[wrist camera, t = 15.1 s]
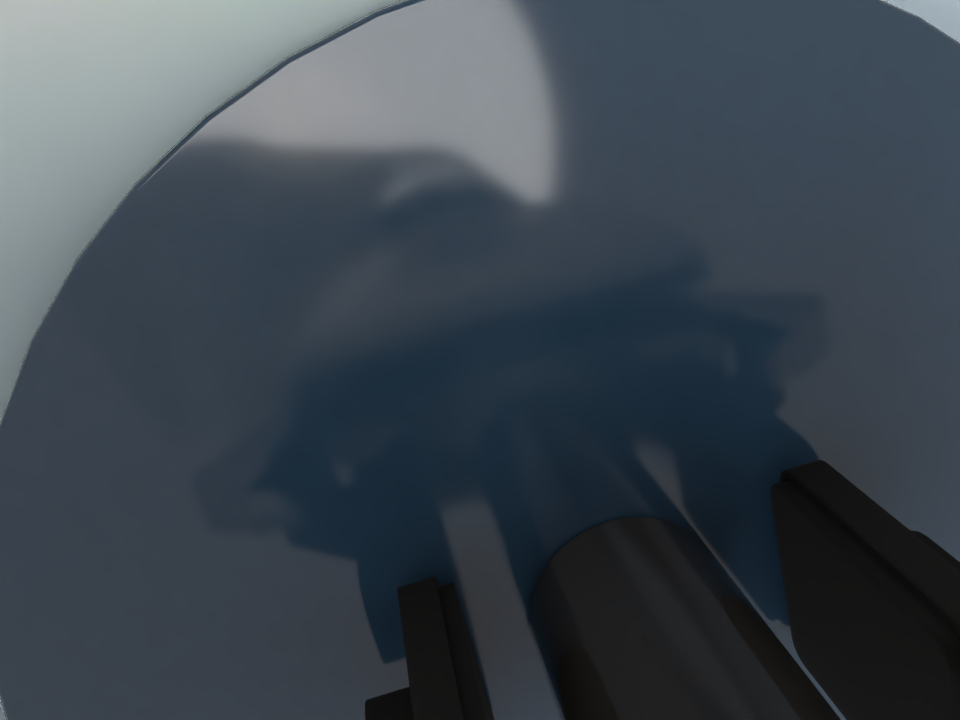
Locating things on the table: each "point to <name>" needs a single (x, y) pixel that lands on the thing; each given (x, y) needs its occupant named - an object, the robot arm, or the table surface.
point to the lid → (492, 364)
